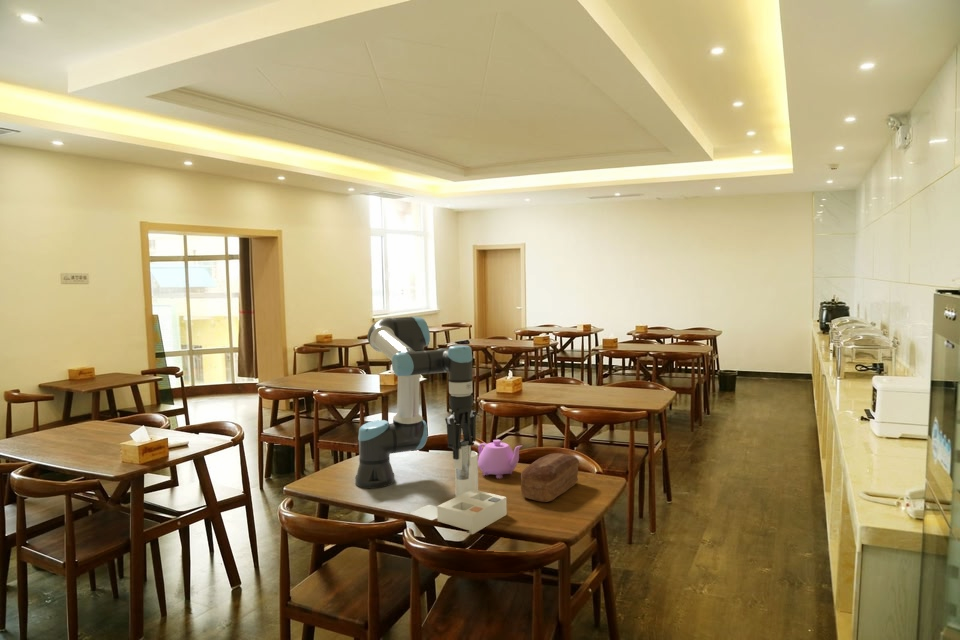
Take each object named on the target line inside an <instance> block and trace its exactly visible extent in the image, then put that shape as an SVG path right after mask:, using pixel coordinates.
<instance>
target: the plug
mask: <svg viewBox="0 0 960 640" xmlns="http://www.w3.org/2000/svg"><path fill="white" fill-rule="evenodd" d="M468 444H469V440H466V439H464V438H463V439H462V438H461V441H460V449H462V469H461V470H459V469H456V475H457V479H458V480H466V479H469V450H468Z"/></svg>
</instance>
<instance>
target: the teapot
mask: <svg viewBox="0 0 960 640" xmlns="http://www.w3.org/2000/svg"><path fill="white" fill-rule="evenodd" d="M492 441H493V442H489V443H486V442H482V443H480V444H479V445H478V449H477V450H478V454H479V456H478V469H480V471H481V472H482V476H485V475H486V476H489V475H495V478H496V479H498V478H499V479H503V478H504V477H503V475H512V474H513V471H514V470H515V468H517V466H518V463H519V459H520V455H519V454H520V449H521V448H522V445H517V446H515V448H514V450H513V449H512V447H511V446H510V445H509V444H508V443H506V442H502V440H501V439H493V440H492ZM499 479H498V480H499Z"/></svg>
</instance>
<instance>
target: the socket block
mask: <svg viewBox="0 0 960 640" xmlns="http://www.w3.org/2000/svg"><path fill="white" fill-rule="evenodd" d="M507 513H508V512H507V497H506V496H503V495H499V494H496V493H495V494H494V493H490V492H486V491H483V490H479V489H478V490H475V489H472V490H470V491H468V492H466V493H464V494H461V495H459V496H457V497H456V496H455V497H453V498H451V499H449V500H447V501H444V502H443V503H441V504H438V505H437V516H438V518H437V522H439V523H442V524H446V525H450V526H452V527H456V528H460V529H463V530H466V534H470V535H474V534H476V533H478V532H479V531H481V530H483V529H484V528H485V527H488V526H489V525H491V524H493V523H495V522H496V521H498V520H500V519H502V518H503V517H505V516H507Z"/></svg>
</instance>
